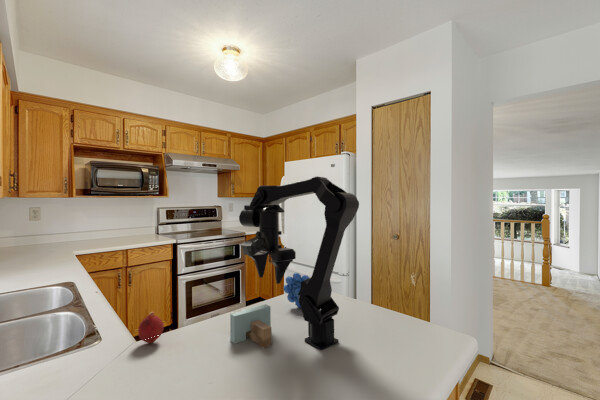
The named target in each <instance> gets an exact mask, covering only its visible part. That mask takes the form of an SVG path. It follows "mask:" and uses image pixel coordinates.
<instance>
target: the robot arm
mask: <svg viewBox="0 0 600 400" xmlns="http://www.w3.org/2000/svg"><path fill="white" fill-rule="evenodd" d="M312 194H315V196H316V197H317V200H319V202H320V203H321V204H322V205H324V213H323V215H324V219H325V228H324V233H323V235H322V236H323V237H322V240H321V243H320V247H319V250H318V252H317V257H316V260H315V264H314V268H313V271H312V274H311V277H309V279H306V280H303V281H302V283H301V288H300V291H299V293H298V295H300V296H299V304H300V306H301V308H300V309H301V313H302V315H303V316H302V317H303V320H304V321H305V322H307V325H308V327H307V328H308V330H307V331H308V337H305V338H304V341H305V342H306V343H308V344H310V345H311V346H313V347H315V348H316V349H318V350H325V349H326V348H328V347H331V346H332V345H333V346H334V345H335V344H338V343H339V339H337V338H336V337H335V319H334V318H333V317H334V316H337V315H338V313H339V309H340V308H339V305H338V304H337V303H336V302H335V300H334V299H333V297H332V290H333V289H332V284H331V277H332V274H333V271H334V269H335V263H336V260H337V258H338V254H339V250H340V248H341V244H342V240H343V238H344V235H345V231H346V229H347V228H348V226H349V225H350V224H351V222H352V221H353V220H354V218H355V217H356V214H357V212H358V210H359V207H360V201H359V200H358V198H357V196H356V195H355V194H353V193H350V192H347V191H346V190H344V189H343V188H341V187H339V186H338V185H336V184H335V183H333V182H332V181H330V180H329V179H328V178H327V177H324V176H313V177H311V178H308V179H305V180H304V179H303V180H299V181H295V182H290V183H286V184H282V185H260V186H257V189H256V192H255V193H254V196H253V197H252V200H251V201H250V203H249V205H247V204H246V205H244V207H243V209H242V210H241V211H240V213H239V216H238V218H239V220H238V221H239V223H240V224H241V226H242V227H246V228H247V227H249V228H251V227H252V228H258V229H259V230H258V231H256V232H255V236H254V237H252V238H250V239H248V240H246V241H244V242H241V244H240V247H241V249H242V254H243V256H248V257H250V259H252V260H253V263H254V264H255V268H256V271H257V275H258V277H259V278H264V274H265V271H266V265H267V261H268V258H269V257H268V256H270V258H271V260H270V262H271V264H272V265H273V266H274V274H275V277H274V278H275V283H276V284H277V285H278V284H279V285H280V284H281V283H282V280H283V278H284V276H285V273H286V271H287V270H288V268H289V266H290V264H291V262H293V261H294V260H296V255H297V254H296V251H295V249H293V248H289V247H282V244H280V243H279V241H280V239H279V238H280V235H281V236H282V230H279V227H280V226H279V222H280V221H279V214H281V213H285V210H284V209H283V208H282V207H281V205H280V204H282V203H284V202H286V201H287V200H289V199H292V198H296V197H302V196H307V195H312Z"/></svg>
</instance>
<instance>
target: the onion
mask: <svg viewBox="0 0 600 400" xmlns="http://www.w3.org/2000/svg"><path fill="white" fill-rule="evenodd" d="M164 326H165V325H164V323H163V320H162V319H161V318H160V317H159V316H157V315H155V312H154V311H150V312H149V314H148V315H147V316H146V317H145V318H143V320H142V321H141V322H140V324H139V326H138V331H137V333H138V337H139V339H140V340H141V341H143V342H144V343H147V344H150V343H151V344H154V343H153V342H155V341H157V340H158V339H159V337H161V336H162V334H163V332H164V328H165V327H164ZM157 335H159V336H157ZM154 336H155V337H154ZM151 337H152V338H151ZM148 338H149V339H148ZM145 339H146V340H145Z"/></svg>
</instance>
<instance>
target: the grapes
mask: <svg viewBox="0 0 600 400" xmlns="http://www.w3.org/2000/svg"><path fill="white" fill-rule="evenodd" d="M309 278H310V276H308V275H306V274H303V275H301V274H300V273H299V272H294V273H293V274H292V276H290V275H288V276H286V278H285V282H286V284H285V285H284V286H283V291H284V293H286V294H287V295H286V298H287V301H288V302H290V303H294V305H295V306H296V307H297V308H299V309H301V306H300V304H299V296H300V295H298V293H299V291H300V288H301V283H302V281H303V280H306V279H309Z"/></svg>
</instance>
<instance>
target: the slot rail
mask: <svg viewBox="0 0 600 400" xmlns="http://www.w3.org/2000/svg"><path fill="white" fill-rule="evenodd" d="M238 311H242V309H239V310H236V311H234V312H238ZM246 338H248V339H250V340H251V341H253V343H256V344H257V345H258V346H260V347H261V348H263V349H265V348H266V347H269V346H272V326H271V327H270V326H268V325H267V324H265V323H263V322H261V321H260V320H257V321H254V322H251V331H248V332H246Z"/></svg>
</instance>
